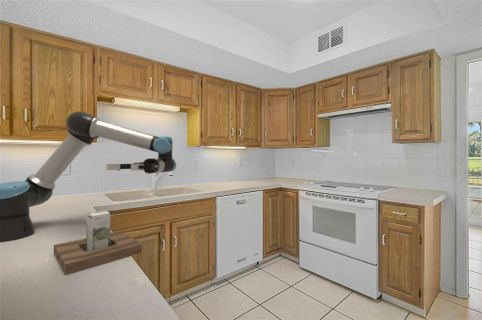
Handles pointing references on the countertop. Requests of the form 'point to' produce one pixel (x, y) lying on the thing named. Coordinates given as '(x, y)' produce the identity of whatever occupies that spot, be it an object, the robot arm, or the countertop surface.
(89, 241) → the syrup box
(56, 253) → the hole board
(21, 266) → the countertop surface
